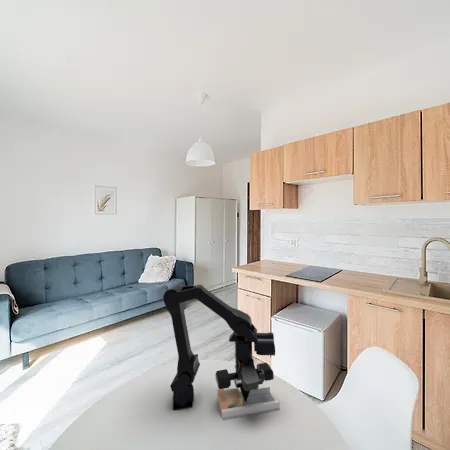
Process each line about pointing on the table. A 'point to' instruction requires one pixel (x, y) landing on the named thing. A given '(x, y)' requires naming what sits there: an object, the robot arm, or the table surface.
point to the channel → (248, 404)
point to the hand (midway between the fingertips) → (245, 400)
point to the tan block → (233, 398)
